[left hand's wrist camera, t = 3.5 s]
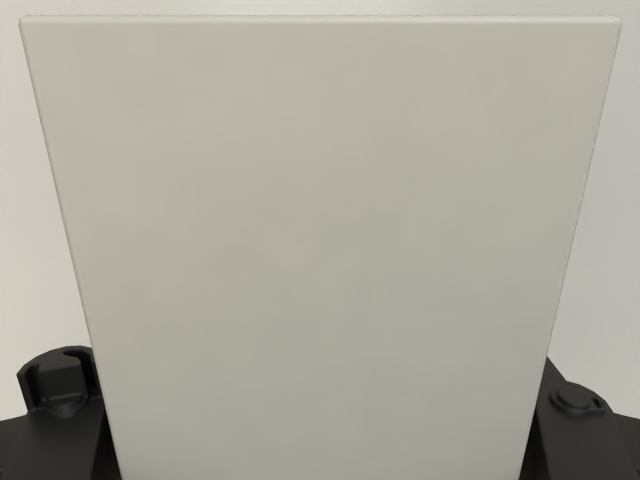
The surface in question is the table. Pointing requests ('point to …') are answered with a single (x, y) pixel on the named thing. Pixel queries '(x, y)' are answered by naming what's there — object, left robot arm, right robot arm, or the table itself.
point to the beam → (320, 231)
